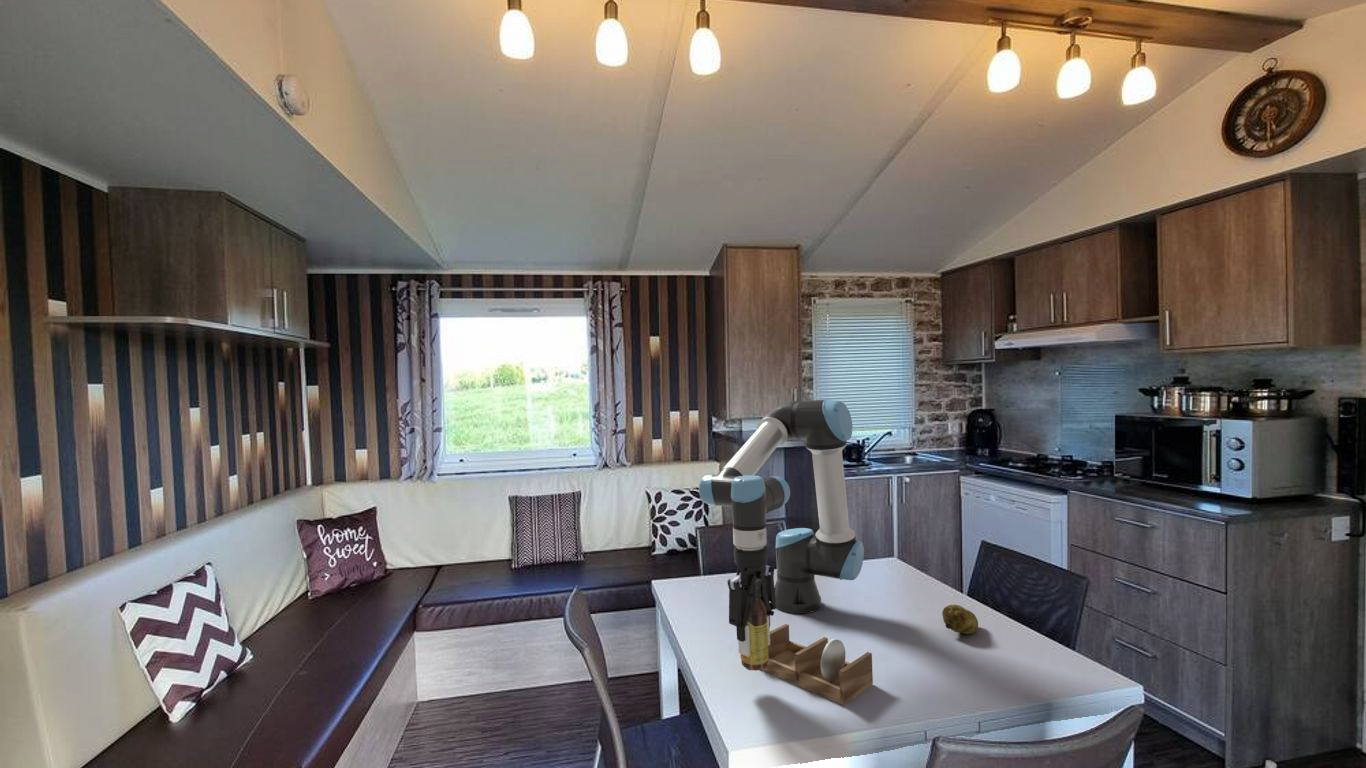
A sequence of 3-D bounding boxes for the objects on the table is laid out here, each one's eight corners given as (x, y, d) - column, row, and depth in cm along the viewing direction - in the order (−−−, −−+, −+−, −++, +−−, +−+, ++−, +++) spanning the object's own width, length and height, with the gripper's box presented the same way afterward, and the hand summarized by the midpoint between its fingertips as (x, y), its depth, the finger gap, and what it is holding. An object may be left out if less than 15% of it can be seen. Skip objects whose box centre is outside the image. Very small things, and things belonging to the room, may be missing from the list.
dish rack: (756, 667, 137) (755, 626, 137) (786, 651, 145) (785, 612, 145) (844, 705, 119) (842, 658, 120) (872, 684, 128) (871, 639, 128)
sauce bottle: (738, 659, 129) (734, 573, 129) (765, 657, 130) (761, 571, 130) (744, 674, 123) (739, 583, 123) (772, 671, 123) (767, 581, 123)
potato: (992, 634, 151) (991, 604, 152) (958, 643, 146) (957, 613, 146) (966, 622, 159) (964, 594, 159) (932, 632, 154) (931, 602, 154)
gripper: (734, 559, 117) (738, 670, 117) (789, 539, 130) (794, 639, 130) (708, 552, 122) (712, 658, 122) (764, 534, 136) (768, 629, 136)
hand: (754, 648), depth 126 cm, fingers closed on sauce bottle, 6 cm apart
